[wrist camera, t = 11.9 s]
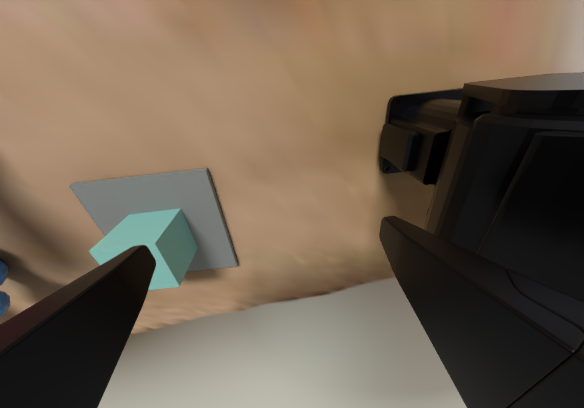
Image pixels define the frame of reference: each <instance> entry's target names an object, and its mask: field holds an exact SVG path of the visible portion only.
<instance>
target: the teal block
mask: <svg viewBox="0 0 584 408" xmlns="http://www.w3.org/2000/svg"><path fill="white" fill-rule="evenodd" d="M137 245H146V246H147V247H148V248H149V250H150V251H151V253H152V255H153V256H154V258H155V260H156V268H155V271H154V274H153V277H152V280H151V283H150V286H149V289H148V290H154V289H163V288H171V287H180V285H181V282H182V280H183V278H184V276H185V274H186V272H187V270H188V268H189V265H190V263H191V261H192V259H193V257H194V255H195V253H196V250H197V248H198V246H197V244H196V242H195V239H194V237H193V235H192V233H191V230H190V228H189V226H188V224H187V221H186V219H185V217H184V215H183V212H182V210H181V208H180V209H172V210H163V211H155V212H146V213H138V214H129V215H128V216H127V217H126V218H125V219H123V220H122V221H121V222H120V223H119V224H118V225H117V226H116V227H115V228H114V229H113V230H111V231H110V232H109V233H108V234H107V235H106V236H105V237H104V238H103V239H102V240H101V241H99V242H98V243H97V244H96V245H95V246H94V247H93V248H92V249H91V250H90V251H89V252H90V254H91V255H92V256H93V257H94V258H95V260H96V261H97V262H98V263H99V265H102V264H103V263H105V262H107V261H109V260H110V259H112V258H114V257H115V256H117V255H119V254H120V253H122V252H124V251H125V250H127V249H129V248H130V247H132V246H137Z"/></svg>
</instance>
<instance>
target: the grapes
mask: <svg viewBox="0 0 584 408" xmlns="http://www.w3.org/2000/svg"><path fill="white" fill-rule="evenodd" d="M7 276H8V266H7V265H6V264H5V263H4V262H2V261H0V285H2V283H3V282H4V281H5V279H6V278H7ZM9 306H10V297H9V295H7V294H6V293H5V292H2V291H0V318H1V317H2V316H4V314H5V313H6V311H7V310H8V308H9Z"/></svg>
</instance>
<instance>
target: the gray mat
mask: <svg viewBox="0 0 584 408" xmlns="http://www.w3.org/2000/svg"><path fill="white" fill-rule="evenodd" d="M69 187H70V189H71V190H72V191H73V193H74V194H75V196H76V197H77V198H78V200H79V201H80V203H81V204H82V205H83V207H84V208H85V209H86V211H87V212H88V214H89V215H90V216H91V218H92V219H93V221H94V222H95V223H96V225H97V226H98V228H99V229H100V230H101V232H102V233H103V235H104V236H106V235H107V234H108V233H109V232H110V231H111V230H113V229H114V228H115V227H116V226H117V225H118V224H119V223H120V222H121V221H122V220H123V219H125V218H126V217H127V216H128V215H129V214H138V213H146V212H155V211H163V210H172V209H180V208H181V210H182V212H183V215H184V217H185V219H186V221H187V224H188V226H189V228H190V230H191V233H192V235H193V237H194V239H195V242H196V244H197V246H198V248H197V250H196V253H195V255H194V257H193V259H192V261H191V263H190V265H189V268H188V270H187V272H192V271H201V270H209V269H218V268H227V267H235V266H237V264H238V261H237V258H236V255H235V252H234V249H233V246H232V243H231V239H230V236H229V233H228V230H227V227H226V224H225V221H224V217H223V214H222V211H221V208H220V205H219V202H218V199H217V195H216V192H215V189H214V186H213V183H212V180H211V177H210V174H209V170H208V168H203V169H194V170H185V171H176V172H167V173H158V174H149V175H140V176H131V177H122V178H113V179H104V180H95V181H86V182H77V183H73V184H71V185H69Z"/></svg>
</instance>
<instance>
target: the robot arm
mask: <svg viewBox="0 0 584 408" xmlns="http://www.w3.org/2000/svg"><path fill="white" fill-rule="evenodd" d="M462 96H463V97H462ZM395 100H397V104H396V105H395V106H394V101H395ZM380 155H381V162H380V170H381V172H383V173H385V174H387V173H396V172H407V173H409V174H410V175H412V176H413V177H414V178H416V179H417V180H419V181H420V182H422V183H423V184H425V185H428V184H432V185H433V186H435V190H434V193H433V197H432V200H431V204H430V207H429V209H428V211H427V217H426V221H425V230H423V229H421V228H419V227H417V226H415V225H413V224H410V223H408V222H406V221H404V220H402V219H400V218H397V217H395V216H389V217H384V218H383V219H382V221H381V228H380V240H381V243H382V245H383V248H384V250H385V253H386V255H387V258H388V260H389V262H390V265H391V267H392V270H393V272H394V274H395V276H396V278H397V280H398V282H399V284H400V286H401V287H402V289H403V291H404V293H405V295H406V297H407V299H408V300H409V302H410V304H411V306H412V308H413V310H414V311H415V313H416V315H417V317H418V318H419V320H420V322H421V324H422V326H423V328H424V330H425V332H426V333H427V335H428V337H429V339H430V341H431V342H432V344H433V346H434V348H435V350H436V352H437V353H438V355H439V357H440V359H441V361H442V363H443V364H444V366H445V368H446V370H447V372H448V374H449V375H450V377H451V379H452V381H453V383H454V385H455V386H456V388H457V390H458V392H459V394H460V396H461V397H462V399H463V401H464V403H465V405H466V407H467V408H584V72H581V73H557V74H543V75H534V76H525V77H516V78H507V79H497V80H488V81H479V82H470V83H464V87H463V88H460V89H451V90H441V91H432V92H423V93H414V94H405V95H396V96H393V97H391V98H390V100H389V102H388V109H387V116H386V123H385V124H384V126H383V130H382V138H381V146H380ZM386 166H388V167H387V169H385V170H384V168H385V167H386ZM155 268H156V260H155V258H154V256H153V255H152V253H151V251H150V250H149V248H148V247H147V246H146V245H137V246H132V247H130V248H129V249H127V250H125V251H124V252H122V253H120V254H119V255H117V256H115V257H114V258H112V259H110V260H109V261H107V262H105V263H103V264H102V265H100V266H98V267H97V268H95V269H93V270H92V271H90V272H88V273H87V274H85V275H83V276H82V277H80V278H78V279H76V280H75V281H73V282H71V283H70V284H68V285H66V286H65V287H63V288H61V289H60V290H58V291H56V292H55V293H53V294H51V295H50V296H48V297H46V298H44V299H43V300H41V301H39V302H38V303H36V304H34V305H33V306H31V307H29V308H28V309H26V310H24V311H23V312H21V313H19V314H17V315H16V316H14V317H12V318H11V319H9V320H7V321H6V322H4V323H2V324H1V325H0V408H97V407H98V405H99V403H100V401H101V398H102V396H103V394H104V392H105V389H106V387H107V385H108V383H109V380H110V378H111V376H112V374H113V371H114V369H115V367H116V365H117V362H118V360H119V358H120V356H121V353H122V351H123V349H124V347H125V345H126V342H127V340H128V338H129V335H130V333H131V331H132V329H133V327H134V324H135V322H136V320H137V318H138V315H139V313H140V311H141V308H142V306H143V303H144V301H145V298H146V295H147V292H148V289H149V286H150V283H151V280H152V277H153V274H154V271H155Z"/></svg>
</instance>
